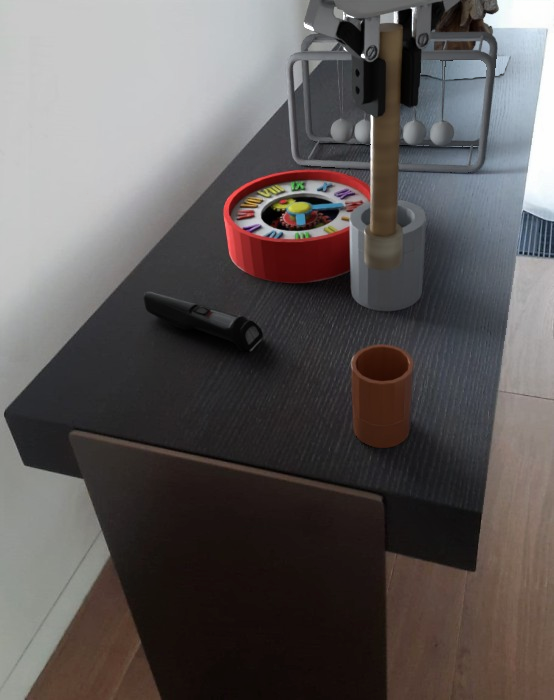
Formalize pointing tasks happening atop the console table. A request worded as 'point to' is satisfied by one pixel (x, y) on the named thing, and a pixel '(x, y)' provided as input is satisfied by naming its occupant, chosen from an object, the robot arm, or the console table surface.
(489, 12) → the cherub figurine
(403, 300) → the grey hollow cylinder
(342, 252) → the toy clock
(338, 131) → the newton's cradle
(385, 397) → the pot
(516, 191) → the console table surface
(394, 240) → the brush
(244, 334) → the electric trimmer
